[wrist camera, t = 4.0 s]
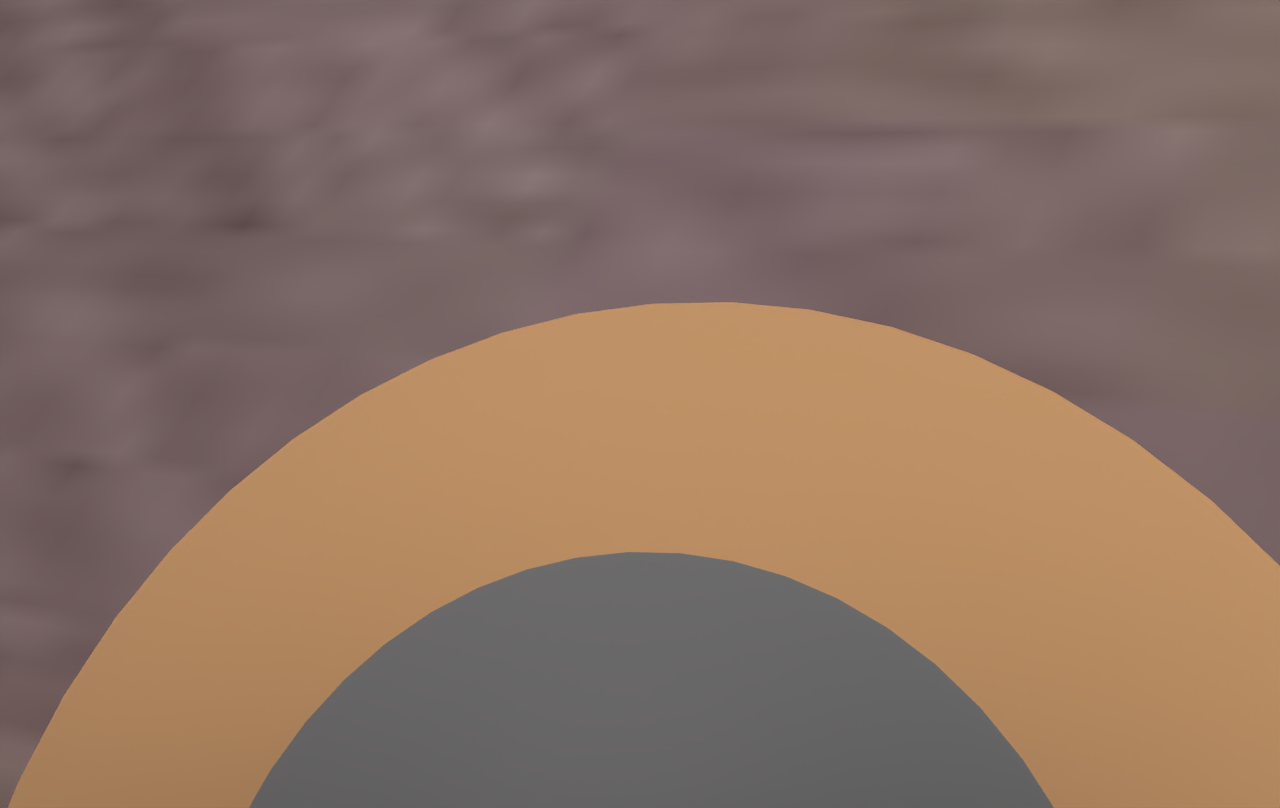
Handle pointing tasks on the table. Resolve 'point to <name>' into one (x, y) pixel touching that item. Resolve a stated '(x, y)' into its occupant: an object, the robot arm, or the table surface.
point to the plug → (691, 595)
